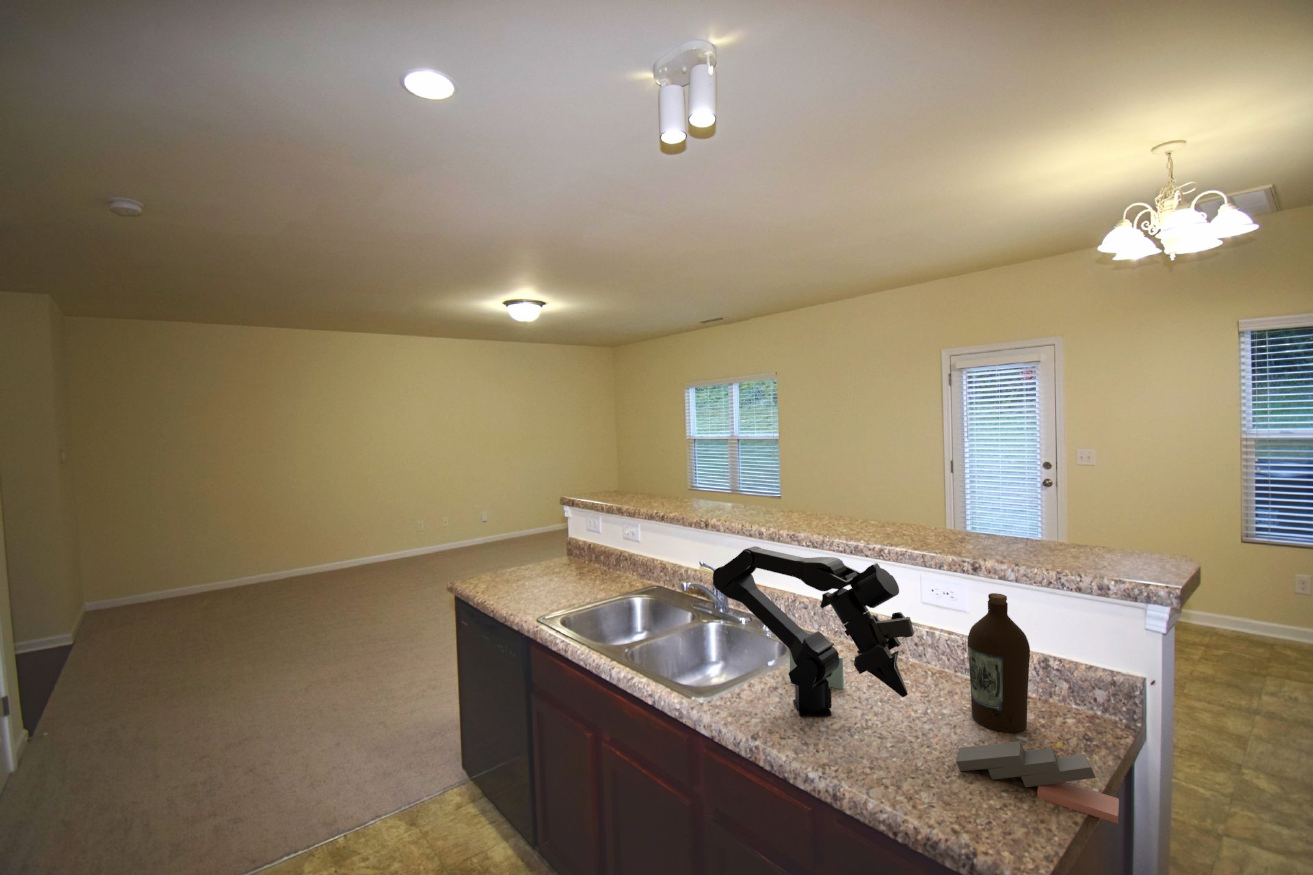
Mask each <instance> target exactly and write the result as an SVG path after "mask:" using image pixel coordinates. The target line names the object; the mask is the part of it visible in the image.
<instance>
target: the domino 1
mask: <svg viewBox="0 0 1313 875" xmlns="http://www.w3.org/2000/svg"><path fill="white" fill-rule="evenodd" d="M1025 751H1026V750H1025V748H1024V746H1023V744H1022V741H1021V740H1019V741H1009V742H1001V743H991V744H983V745H974V746H973V745H972V746H964V747H959V748H958V751H957V756H956V760H955V763H956V765H957V767H958V769H959V772H965V771H977V770H988V769H990V768H1001V767H1012V766H1023V765H1024V754H1025Z"/></svg>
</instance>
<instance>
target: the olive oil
mask: <svg viewBox="0 0 1313 875" xmlns="http://www.w3.org/2000/svg"><path fill="white" fill-rule="evenodd" d="M1007 600H1008V596H1006V595H1005V594H1003V593H998V592H996V593H995V592H994V593H993V592H991V593H989V594H988V601H987V613H986V614H985V615H984V616H983V617H981V618H980V619H979V620H978V621H976V622H975V623H974V624H973V625H972V626H971V628H970V629H969V632H968V635H967V651H968V652H967V653H968V669H969V682H970V684H969V685H970V700H971V701H970V702H971V705H970V706H971V716H972V718H973V720H974V721H975V722H976V723H978V724H979V725H980V726H982V727H985V728H987V729H989V730H993V731H995V732H1000V733H1011V734H1012V733H1020V732H1023V731H1025V730H1026V728H1027V726H1028V695H1029V694H1028V692H1029V674H1030V673H1029V672H1030V659H1031V657H1030V656H1031V648H1030V644H1029V639H1028V638H1027V635H1026V633H1025V632H1024V631H1023V630H1022V629H1021V628H1020V627H1019V625H1018V624H1016V623H1015V621H1013V620H1012V618H1011V617H1010V616H1009V615H1008V606H1009V603H1008V602H1007Z"/></svg>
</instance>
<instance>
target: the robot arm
mask: <svg viewBox="0 0 1313 875" xmlns="http://www.w3.org/2000/svg"><path fill="white" fill-rule="evenodd" d="M843 562H844V561H843V560H841V559H840V558H838V557H836V556H835V557H833V556H831V557H830V556H817V557H816V556H815V557H803V556H797V555H793V554H788V553H785V552H780V551H775V550H769V549H766V548H762V547H760V546H757V545H756V546H751V547H747V548H745V549H743V550H742V551H740V553H739V554H737V555H736V556H735V557H734V558H732V559H731V560H730V561H728V562H727V563H725V564H724V565H722V566H720V567H717V568H715V569H714V570H713V574H712V584H713V586H714V588H715V589H716V590H717V591H718V592H719V593H721V594H722V595H724V596H725V597H726V598H728V599H732V600H734V601H736V602H739V603H741V604H742V605H743V606H745V607H746V608H747V610H748V611H750V612H751V613H752V614H753V616H755V617H756V618H757V619H758V620H759V621H760V622H761V623H762V624H763V625H764V626H765V627H766V628H767V629H768V630H770V632H772V633H773V634H774V636H775V637H777V639H779V640H780V642H782V643H783V644H784V645H785V646H786V647H787V648H788V650H789V653H790V652H791V655H792V657H793V660H794V663H795V664H796V665H797V666H796V667H795V668H794V669H793V670H791V671H790V670H789V672H788V678H789V679H790V683H791V684H793V685H794V695H795V696H794V699H793V700H792V702H793V705H794V706H795V709H796V711H797V712H798V714H799V716H800V717H823V716H824V717H825V716H826V717H828V716H832V714H833V712H832V710H831V709H832V687H829V684H828V681H827V679H826V678H828V677H830V676H831V675H832V672H833V671H835V670H836V669H837V668H838V666H839V656H840V655H839V652H838V650H837V648H836V647H834V645H835V644H834V642H831V641H830V640H828V639H827V637H825V635H824V634H823V633H822V632H820V631H819V630H818V631H815V632H813V633H812V634H811V633H809V632H806V631H805V630H803V629H802V628H801V626H799V624H797V623H796V622H795V621H794V620H793V619H792V618H790V617H789V616H788V615H787V613H785V612H784V611H783V609H781V608H780V607H779V606H778V605H776V604H775V603H774V602H773V601H772V600H771V598H769V597H768V596H767V595H766V594H764V592H762V591H761V590H760V588H758V586H757V584H756V580H755V579H754V576H753V573H754V572H755V571H756V570H757V569H759V570H763V571H768V572H772V573H775V574H780V575H785V576H788V577H791V578H792V577H793V578H796V579H798V580H800V581H801V582H802V583H804V585H805V586H808V587H810V588H813V589H815V590H817V591H820V592H824V593H822V599H821V602H820V608H822V609H824V608H826V607H828V606H831V607H832V609H833V611H834V612H835V614H836V615H837V617H838V619H839V621H840V622H841V623H842V625H843V627H844V628H845V630H844V633H845V635H846V636H847V637H850V638H851V639H852V641H853V643H854V644H855V646H856V647H857V651H856V653H857V655H856V656H855V657H854V661H853V666H854V668H855V669H856V671H857V672H858V674H859V675H861V674H863V673H865V672H867V673H870V674H871V675H872V676H874V677H875V678H876V679H878V680H879V681H881V682H882V683H883V684H885V685H886V686H888V687H889V688H890V689H891V690H893V691H894V692H895V693H896V694H897V695H899V696H900V697H902V698H905V697H907V696H908V694H909V692H908V690H907V688H906V685H905V682H904V679H903V676H902V674H901V671H900V669H899V667H898V663H897V662H898V657H899V654H900V650H896V651H894V652H893V653H892V652H891V650H893V649H894V648H896V647H897V648H898V647H900V646H901V645H902V642H901V641H900V640H899V638H911V637H913V636H914V635H915V632H914V628H913V623H912V620H911V617H910V616H905V615H904V614H903V613H902V612H901V611H899V612H893V613H892V614H891V618H890V619H889V618H887V619H884V620H880V619H879V617H878V616H877V615H875V614H873V615H872V613H871V612H870V610H869V609H868V608H870V609H875V608H878V606H880V605H881V604H884V603H885V602H887V601H889V600H891V599H893V598H895V597H896V596H898V595H899V594H900V586H899V585H898V582H897V580H896V579H895V577H894V576H893V575H892V574H890V573H889V571H888V570H886V569H884V568H882V567H880V565H879V564H878V562H874V563H873V564H871V565H869V566H868V567H866V568H865V570H863V571H862V572H860V571H858V570H856V569H854V568H852V567H850V566H847V565H845V563H843ZM848 586H850V588H849V589H847V588H845V587H848ZM830 590H836V591H834V592H829V591H830Z"/></svg>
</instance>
